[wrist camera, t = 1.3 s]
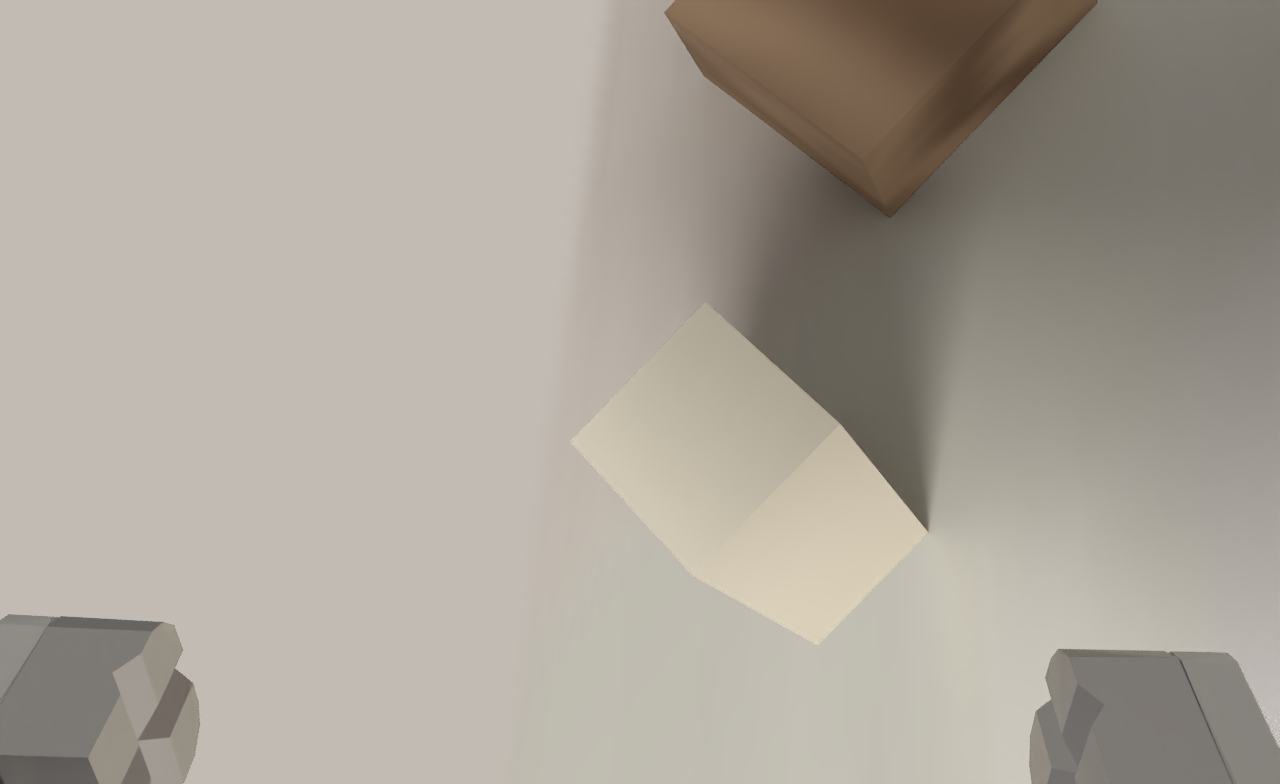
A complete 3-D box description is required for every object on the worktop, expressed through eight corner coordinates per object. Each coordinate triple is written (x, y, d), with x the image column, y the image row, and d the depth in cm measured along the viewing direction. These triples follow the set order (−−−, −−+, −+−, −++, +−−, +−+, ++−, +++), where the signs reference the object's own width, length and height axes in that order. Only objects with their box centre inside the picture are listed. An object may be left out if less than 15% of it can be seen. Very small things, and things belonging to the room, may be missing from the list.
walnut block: (889, -111, 42) (862, -197, 39) (1098, 8, 38) (1088, -77, 34) (707, 80, 42) (664, 12, 39) (892, 222, 38) (862, 159, 34)
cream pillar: (820, 432, 36) (704, 301, 28) (928, 532, 34) (840, 423, 25) (716, 539, 36) (569, 441, 28) (817, 645, 34) (692, 575, 26)
